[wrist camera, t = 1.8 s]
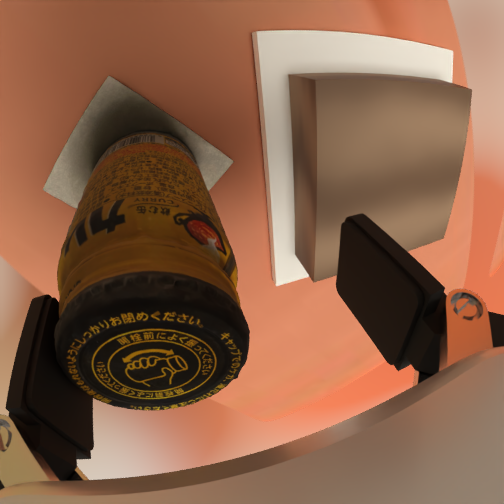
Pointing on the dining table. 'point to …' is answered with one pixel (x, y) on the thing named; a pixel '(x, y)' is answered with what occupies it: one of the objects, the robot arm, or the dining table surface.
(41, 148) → the dining table surface
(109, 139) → the condiment
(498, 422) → the robot arm
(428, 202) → the plinth
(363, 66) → the base board
